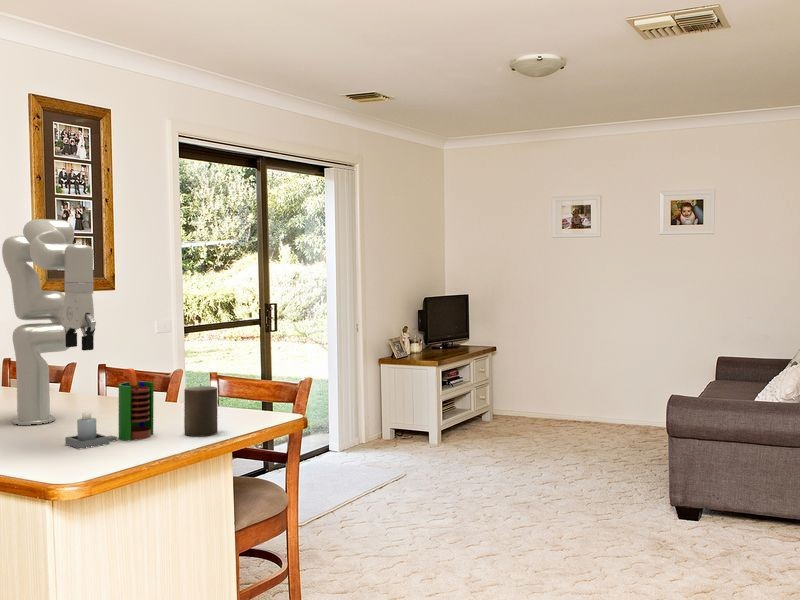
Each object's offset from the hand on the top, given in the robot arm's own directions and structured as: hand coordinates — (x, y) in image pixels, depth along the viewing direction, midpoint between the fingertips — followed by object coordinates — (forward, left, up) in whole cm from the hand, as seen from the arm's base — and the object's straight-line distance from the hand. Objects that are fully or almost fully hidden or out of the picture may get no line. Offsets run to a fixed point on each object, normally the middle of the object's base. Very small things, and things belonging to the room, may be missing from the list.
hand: (79, 348), depth 226 cm
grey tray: (+5, +1, -27) cm, 27 cm away
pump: (+5, -1, -27) cm, 27 cm away
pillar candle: (+16, +29, -27) cm, 43 cm away
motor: (+6, +13, -27) cm, 31 cm away
